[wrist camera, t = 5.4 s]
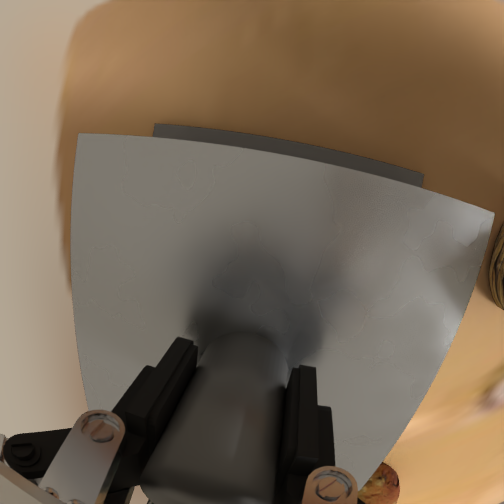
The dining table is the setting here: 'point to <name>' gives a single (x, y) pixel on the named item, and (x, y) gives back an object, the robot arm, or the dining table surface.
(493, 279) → the wooden mug
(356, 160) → the mat
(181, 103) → the dining table surface
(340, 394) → the cover
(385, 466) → the bread roll
